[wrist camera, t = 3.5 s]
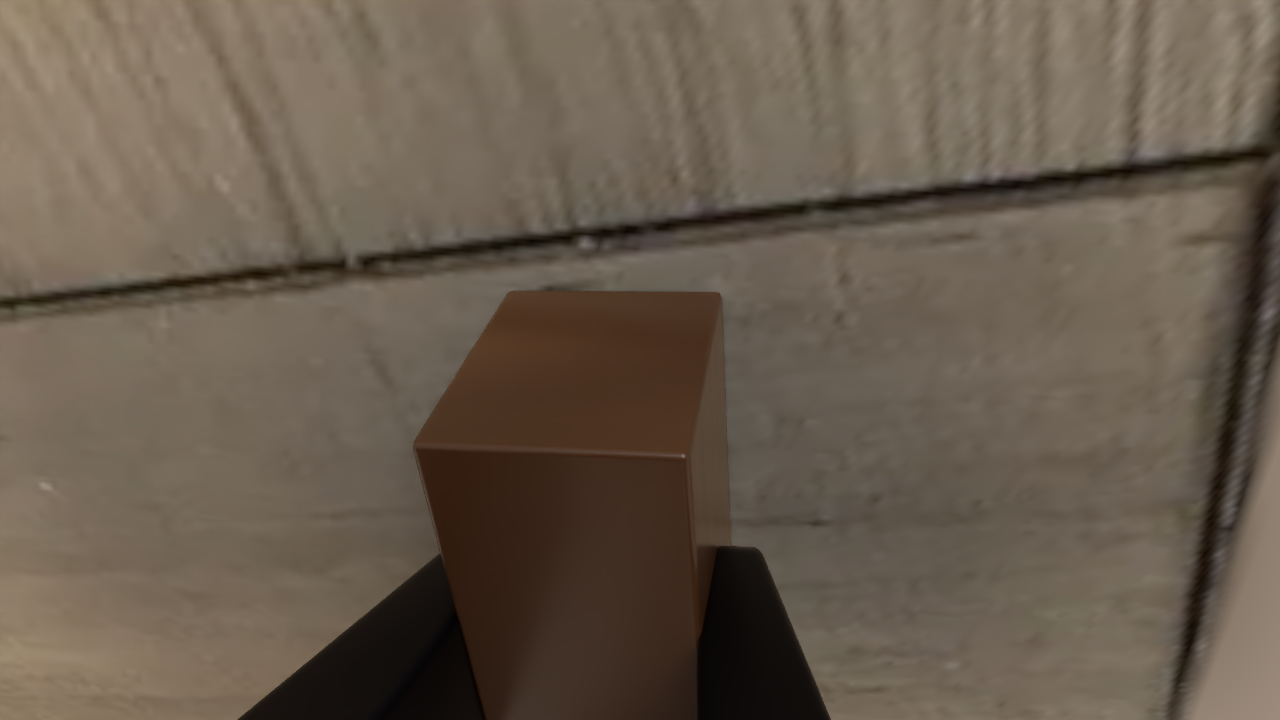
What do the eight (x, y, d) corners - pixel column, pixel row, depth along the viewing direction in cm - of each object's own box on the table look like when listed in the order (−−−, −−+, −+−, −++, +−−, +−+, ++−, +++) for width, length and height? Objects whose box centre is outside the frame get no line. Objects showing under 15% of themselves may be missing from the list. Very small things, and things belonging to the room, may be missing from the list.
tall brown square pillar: (723, 289, 8) (689, 454, 6) (736, 666, 11) (716, 871, 9) (507, 287, 8) (409, 443, 6) (572, 653, 11) (515, 845, 9)
